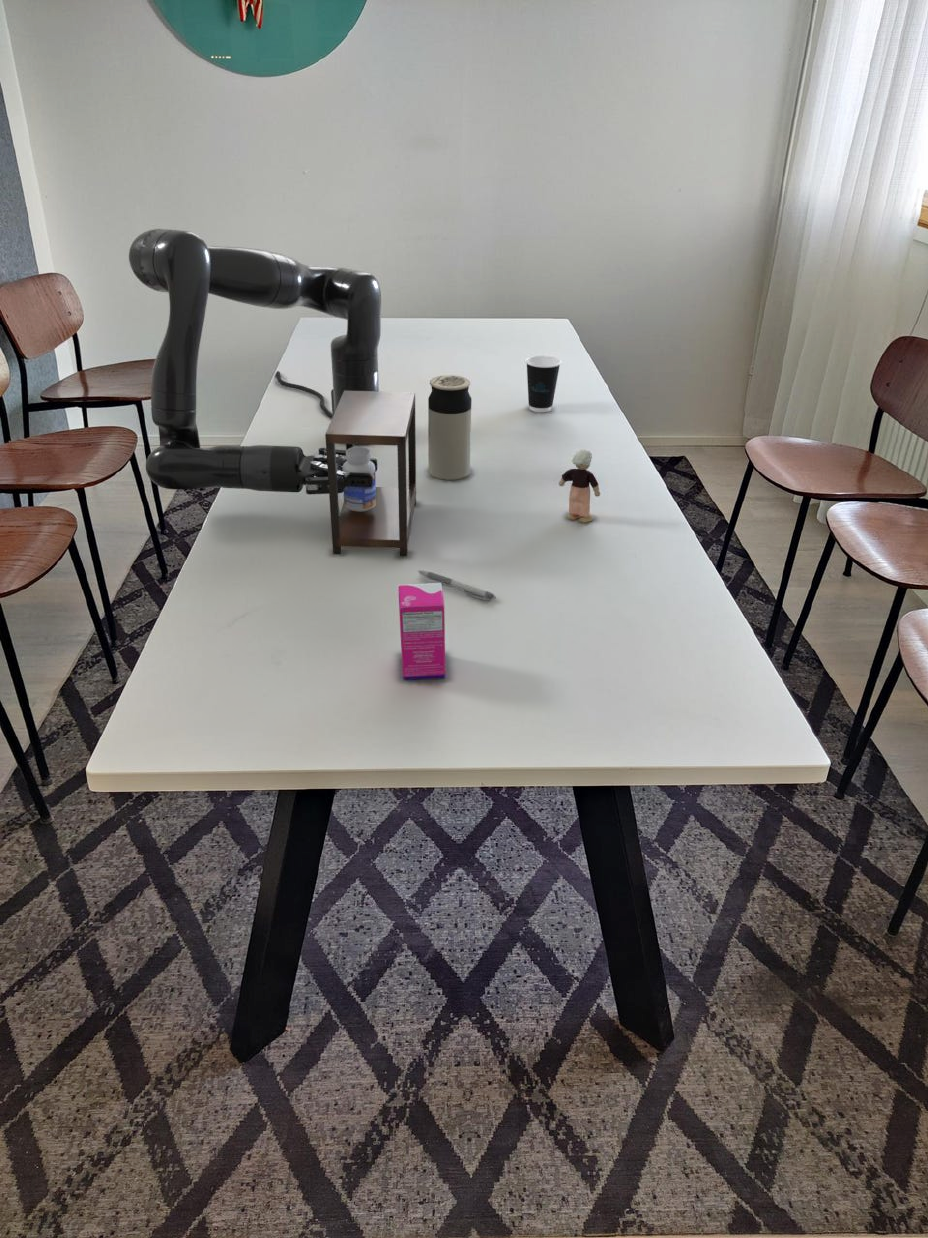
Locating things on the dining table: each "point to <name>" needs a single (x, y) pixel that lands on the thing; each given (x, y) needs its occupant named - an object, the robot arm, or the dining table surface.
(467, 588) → the pen
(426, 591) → the supplement box
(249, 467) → the robot arm
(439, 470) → the travel mug
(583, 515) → the grandmother figurine
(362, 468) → the pill bottle
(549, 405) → the dixie cup
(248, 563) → the dining table surface
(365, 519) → the shelf
